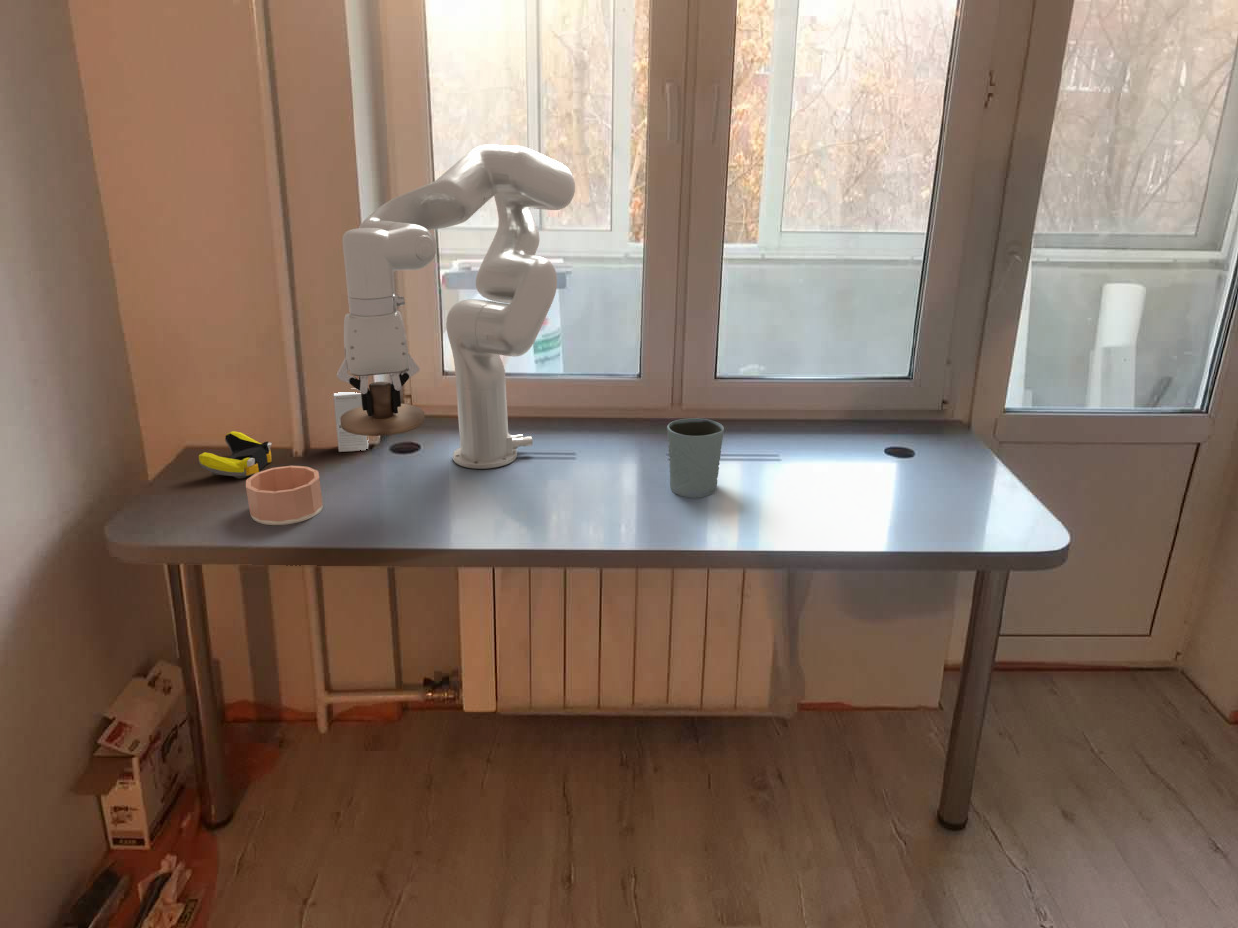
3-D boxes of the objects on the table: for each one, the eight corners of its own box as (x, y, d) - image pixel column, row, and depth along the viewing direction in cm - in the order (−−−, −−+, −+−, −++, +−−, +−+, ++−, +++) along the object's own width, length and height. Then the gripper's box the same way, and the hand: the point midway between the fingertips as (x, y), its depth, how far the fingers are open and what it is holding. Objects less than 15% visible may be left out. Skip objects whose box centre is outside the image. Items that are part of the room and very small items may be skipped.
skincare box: (338, 452, 196) (331, 395, 191) (339, 445, 200) (332, 389, 195) (369, 450, 197) (363, 393, 192) (370, 442, 201) (364, 387, 197)
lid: (417, 406, 174) (414, 370, 172) (431, 430, 162) (429, 391, 160) (336, 414, 170) (332, 377, 167) (345, 440, 157) (341, 400, 155)
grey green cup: (659, 494, 175) (660, 432, 171) (675, 474, 184) (676, 414, 180) (713, 502, 172) (715, 438, 168) (727, 481, 181) (730, 420, 177)
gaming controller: (197, 483, 182) (249, 484, 181) (192, 455, 180) (244, 457, 179) (233, 454, 196) (281, 455, 195) (228, 428, 194) (277, 429, 193)
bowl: (320, 493, 177) (316, 462, 174) (325, 519, 166) (320, 487, 164) (251, 502, 173) (246, 471, 171) (251, 529, 162) (245, 496, 160)
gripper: (419, 298, 165) (426, 401, 171) (318, 305, 159) (330, 411, 166) (427, 307, 158) (434, 413, 165) (322, 314, 153) (334, 424, 159)
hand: (382, 411), depth 165 cm, fingers closed on lid, 3 cm apart
